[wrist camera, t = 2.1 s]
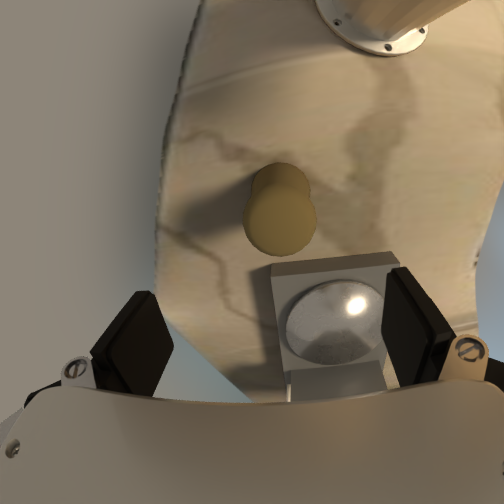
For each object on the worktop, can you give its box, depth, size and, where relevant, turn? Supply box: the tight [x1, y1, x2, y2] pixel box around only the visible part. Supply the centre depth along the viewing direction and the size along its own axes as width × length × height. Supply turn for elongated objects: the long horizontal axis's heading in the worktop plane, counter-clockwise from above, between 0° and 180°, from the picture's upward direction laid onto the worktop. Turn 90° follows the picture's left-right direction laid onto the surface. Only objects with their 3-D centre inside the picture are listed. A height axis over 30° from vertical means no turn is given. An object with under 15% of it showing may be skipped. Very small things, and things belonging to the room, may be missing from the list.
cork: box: [243, 163, 317, 257], centre depth 23 cm, size 6×6×11 cm
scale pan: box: [286, 279, 384, 365], centre depth 30 cm, size 12×12×1 cm
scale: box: [270, 251, 400, 402], centre depth 29 cm, size 20×14×12 cm
